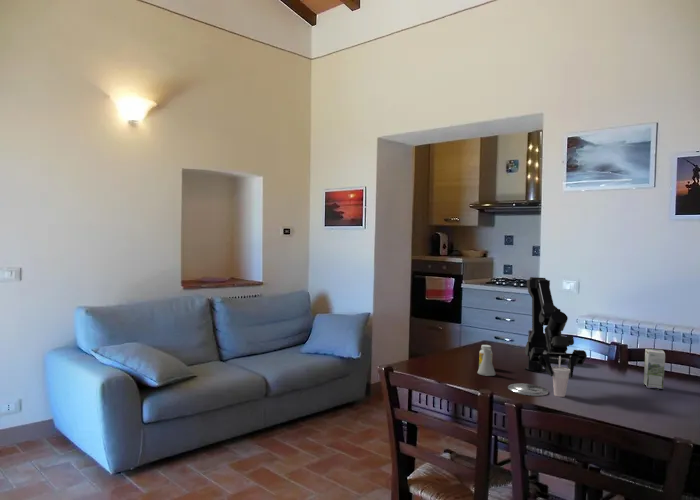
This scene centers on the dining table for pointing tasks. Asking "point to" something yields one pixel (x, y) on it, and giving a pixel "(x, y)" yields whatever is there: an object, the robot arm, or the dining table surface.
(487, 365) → the flask
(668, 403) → the dining table surface
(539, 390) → the grey stepped round plate
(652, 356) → the syrup box
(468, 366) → the dining table surface
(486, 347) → the supplement bottle
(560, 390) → the smoothie
